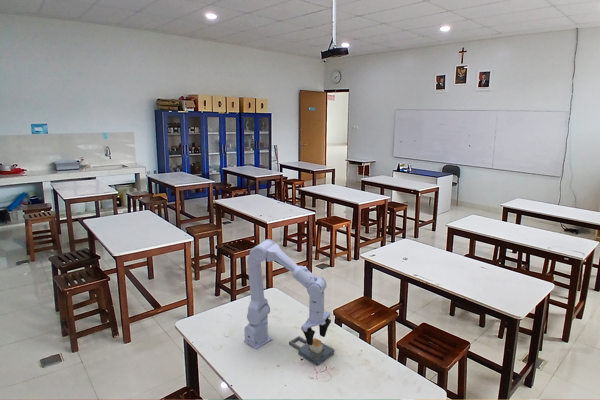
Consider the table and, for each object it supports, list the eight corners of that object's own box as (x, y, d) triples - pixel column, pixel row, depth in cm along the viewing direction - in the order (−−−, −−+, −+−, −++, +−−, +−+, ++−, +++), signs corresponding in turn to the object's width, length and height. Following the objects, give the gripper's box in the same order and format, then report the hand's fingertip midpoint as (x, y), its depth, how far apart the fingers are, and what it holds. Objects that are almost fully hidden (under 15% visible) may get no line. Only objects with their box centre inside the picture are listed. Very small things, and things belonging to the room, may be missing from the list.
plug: (317, 358, 150) (317, 344, 149) (309, 353, 153) (309, 340, 151) (322, 354, 152) (322, 341, 151) (314, 350, 155) (314, 337, 153)
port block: (317, 365, 145) (317, 361, 145) (298, 354, 152) (298, 349, 152) (333, 353, 153) (334, 349, 152) (315, 343, 159) (315, 339, 159)
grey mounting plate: (300, 351, 154) (300, 348, 154) (289, 344, 159) (289, 341, 158) (310, 345, 158) (310, 342, 158) (298, 338, 163) (298, 335, 162)
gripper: (311, 319, 140) (311, 352, 143) (336, 305, 150) (335, 336, 153) (297, 313, 145) (297, 344, 148) (322, 299, 155) (322, 329, 158)
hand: (316, 340), depth 151 cm, fingers open, 7 cm apart
